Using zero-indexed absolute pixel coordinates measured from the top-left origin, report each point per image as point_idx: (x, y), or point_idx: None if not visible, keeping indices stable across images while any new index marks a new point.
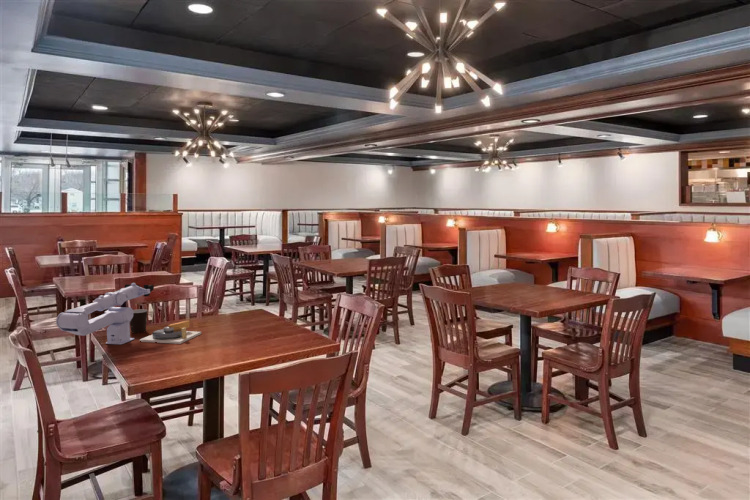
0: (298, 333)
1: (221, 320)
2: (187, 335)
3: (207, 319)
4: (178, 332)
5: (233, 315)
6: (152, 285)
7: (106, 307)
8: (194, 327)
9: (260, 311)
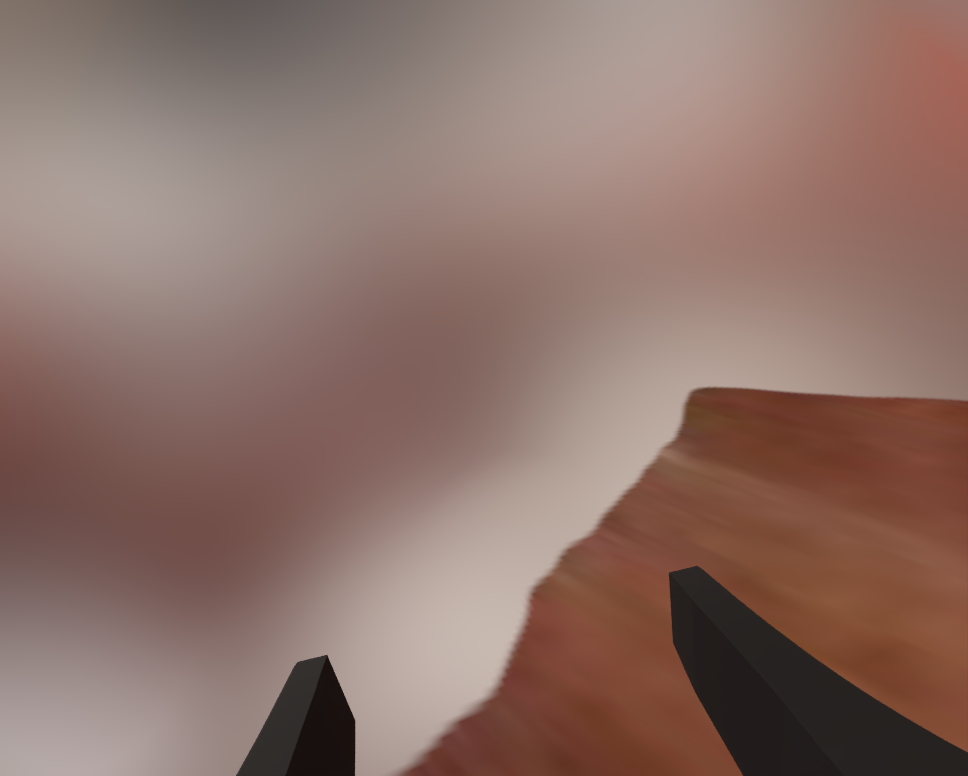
0: None
1: (777, 520)
2: None
3: (676, 537)
4: None
5: (709, 452)
6: (726, 593)
7: None
8: None
9: (736, 391)
